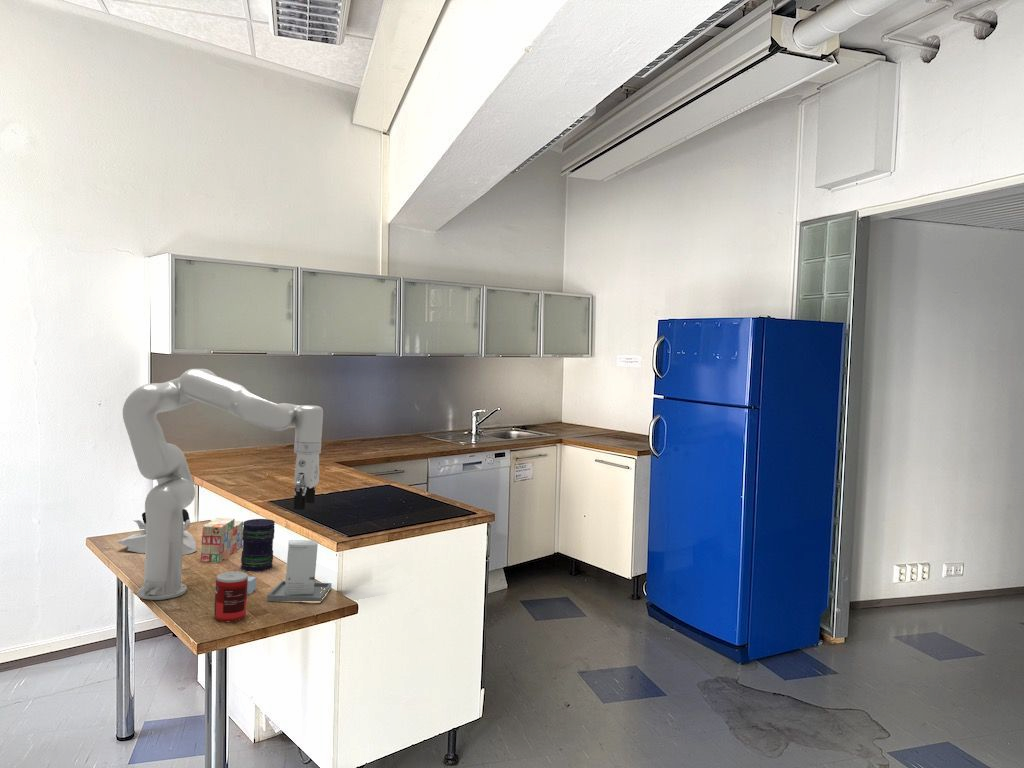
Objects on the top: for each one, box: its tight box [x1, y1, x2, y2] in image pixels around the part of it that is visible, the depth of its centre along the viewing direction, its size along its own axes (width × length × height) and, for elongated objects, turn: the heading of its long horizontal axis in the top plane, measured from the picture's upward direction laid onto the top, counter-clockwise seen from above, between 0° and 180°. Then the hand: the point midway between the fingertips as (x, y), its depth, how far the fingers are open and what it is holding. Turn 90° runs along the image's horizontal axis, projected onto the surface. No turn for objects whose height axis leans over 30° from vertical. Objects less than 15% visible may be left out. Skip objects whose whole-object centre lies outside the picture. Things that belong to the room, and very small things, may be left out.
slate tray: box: [266, 580, 333, 602], centre depth 196 cm, size 13×15×2 cm
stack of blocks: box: [200, 517, 244, 563], centre depth 232 cm, size 21×6×12 cm, turn 3°
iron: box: [117, 508, 198, 556], centre depth 232 cm, size 11×24×15 cm, turn 90°
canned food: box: [213, 570, 249, 623], centre depth 176 cm, size 8×8×11 cm
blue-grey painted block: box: [247, 575, 257, 595], centre depth 196 cm, size 8×4×4 cm, turn 87°
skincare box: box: [284, 539, 319, 595], centre depth 196 cm, size 8×6×15 cm
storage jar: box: [240, 518, 276, 573], centre depth 219 cm, size 10×10×15 cm
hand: (304, 505), depth 195 cm, fingers open, 9 cm apart
